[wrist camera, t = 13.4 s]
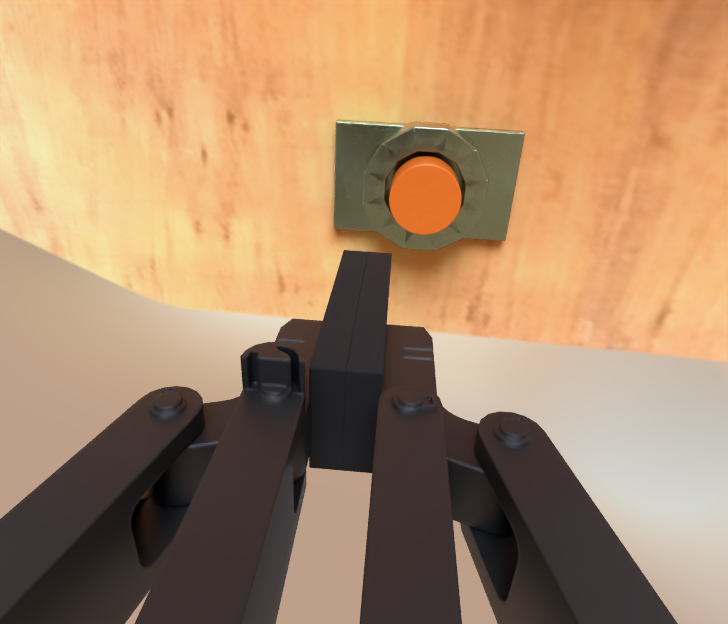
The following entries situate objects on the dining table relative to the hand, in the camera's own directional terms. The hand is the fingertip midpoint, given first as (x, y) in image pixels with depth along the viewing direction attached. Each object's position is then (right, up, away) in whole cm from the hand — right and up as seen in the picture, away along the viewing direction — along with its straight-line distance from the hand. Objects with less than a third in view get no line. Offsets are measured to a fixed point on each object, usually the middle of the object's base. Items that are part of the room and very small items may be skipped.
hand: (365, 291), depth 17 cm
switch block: (+3, +7, +13) cm, 15 cm away
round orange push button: (+3, +6, +11) cm, 13 cm away
